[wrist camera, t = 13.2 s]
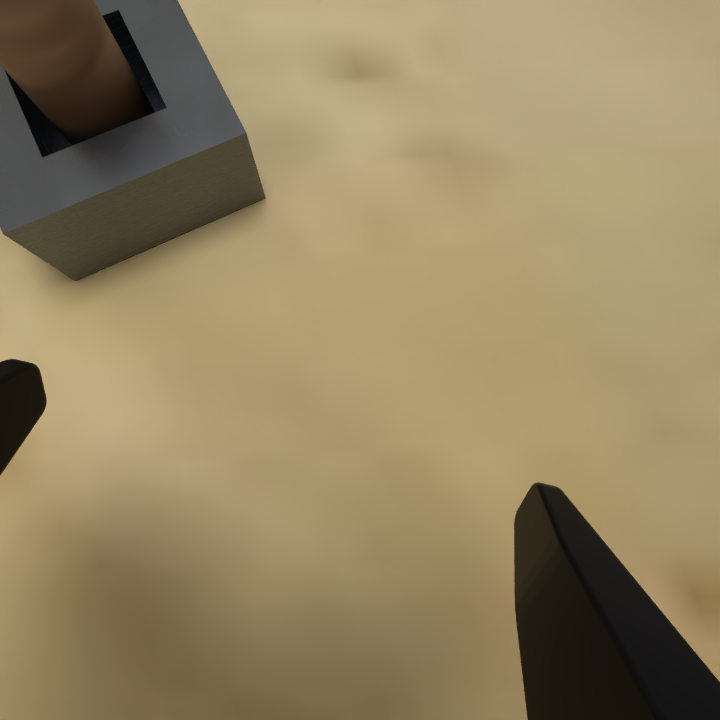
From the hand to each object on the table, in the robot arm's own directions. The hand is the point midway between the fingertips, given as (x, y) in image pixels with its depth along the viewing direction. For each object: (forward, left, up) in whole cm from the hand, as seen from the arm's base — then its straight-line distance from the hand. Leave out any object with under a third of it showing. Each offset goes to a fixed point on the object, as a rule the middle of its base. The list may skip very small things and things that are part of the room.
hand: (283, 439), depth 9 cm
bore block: (-2, +17, -14) cm, 22 cm away
